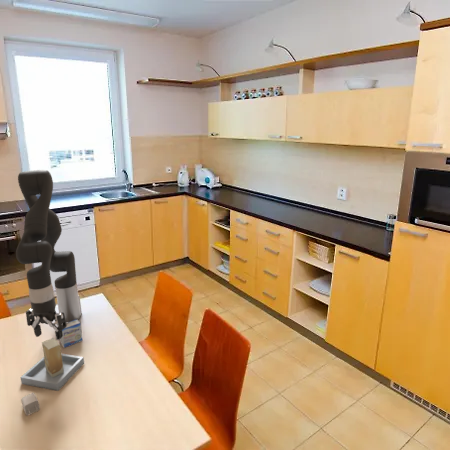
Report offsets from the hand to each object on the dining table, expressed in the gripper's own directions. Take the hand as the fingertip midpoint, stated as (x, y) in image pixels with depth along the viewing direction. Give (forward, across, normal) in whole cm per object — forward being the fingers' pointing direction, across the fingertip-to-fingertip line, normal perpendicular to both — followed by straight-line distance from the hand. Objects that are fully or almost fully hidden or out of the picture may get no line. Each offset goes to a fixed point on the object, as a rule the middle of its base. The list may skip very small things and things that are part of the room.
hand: (49, 337), depth 126 cm
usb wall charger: (+15, -5, +18) cm, 24 cm away
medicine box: (+16, +6, -18) cm, 25 cm away
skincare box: (+15, 0, 0) cm, 15 cm away
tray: (+15, 0, 0) cm, 15 cm away
